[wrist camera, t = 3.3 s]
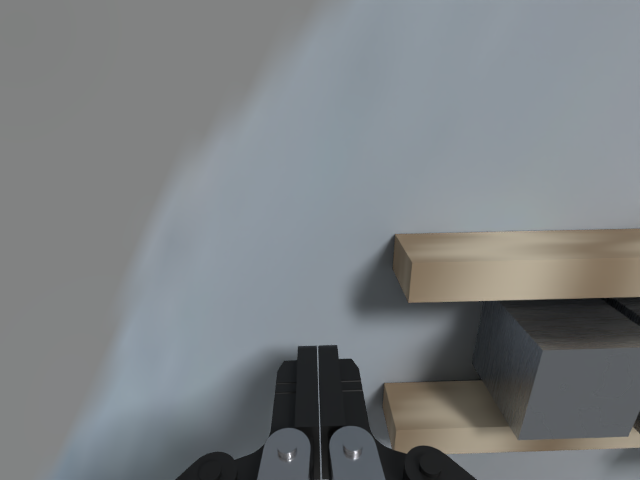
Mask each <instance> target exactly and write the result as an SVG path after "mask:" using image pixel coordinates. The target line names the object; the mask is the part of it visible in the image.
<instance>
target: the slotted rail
mask: <svg viewBox="0 0 640 480" xmlns="http://www.w3.org/2000/svg"><path fill="white" fill-rule="evenodd" d="M393 271H394V273H395V275H396V277H397V279H398V281H399V284H400V286H401V288H402V290H403V292H404V294H405V296H406V298H407V301H408V303H419V302H458V301H497V300H536V299H575V298H614V297H640V229H605V230H560V231H515V232H470V233H425V234H395V243H394V257H393ZM383 411H384V415H385V420H386V424H387V428H388V433H389V437H390V441H391V446H392V450H396V451H399V452H403V453H406V454H407V453H408V452H409V451H410V450H411V449H412V448H414V447H417V446H422V445H424V446H431V447H434V448H436V449H438V450H440V451H442V452H443V453H444V454H465V453H495V452H525V451H555V450H585V449H616V448H640V434H639V433H638V432H637V430H636V429H635V428H634V427H632V429H631V432H630V434H629V436H628V437H605V438H574V439H542V440H517V438H516V436H515V435H514V433H513V431H512V430H511V428H510V426H509V425H508V423H507V421H506V419H505V418H504V416H503V414H502V413H501V411H500V409H499V408H498V406H497V404H496V403H495V401H494V399H493V398H492V396H491V394H490V393H489V391H488V389H487V388H486V386H485V384H484V383H483V381H482V380H474V381H440V382H406V383H384V394H383Z"/></svg>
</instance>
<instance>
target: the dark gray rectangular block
mask: <svg viewBox="0 0 640 480" xmlns="http://www.w3.org/2000/svg"><path fill="white" fill-rule="evenodd" d="M472 364H473V366H474V367H475V369H476V371H477V372H478V374H479V376H480V377H481V379H482V381H483V383H484V384H485V386H486V388H487V389H488V391H489V393H490V394H491V396H492V398H493V399H494V401H495V403H496V404H497V406H498V408H499V409H500V411H501V413H502V414H503V416H504V418H505V419H506V421H507V423H508V425H509V426H510V428H511V430H512V431H513V433H514V435H515V436H516V438H517V440H542V439H574V438H605V437H628V436H629V434H630V432H631V429H632V427H633V425H634V423H635V420H636V418H637V416H638V414H639V411H640V326H638V325H637V324H635V323H634V322H633V321H631V320H630V319H628V318H627V317H626V316H624V315H623V314H621V313H620V312H618V311H617V310H616V309H614V308H613V307H611V306H610V305H609V304H607V303H606V302H604V301H603V300H602V299H600V298H575V299H536V300H497V301H484V302H483V307H482V313H481V318H480V323H479V329H478V334H477V339H476V345H475V350H474V355H473V360H472Z"/></svg>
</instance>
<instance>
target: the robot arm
mask: <svg viewBox="0 0 640 480" xmlns="http://www.w3.org/2000/svg"><path fill="white" fill-rule="evenodd" d="M318 355H319V398H320V427H321V455H322V479H329V480H477V479H475V478H474V477H473V476H472V475H470V474H469V473H468V472H467V471H465V470H464V469H463V468H462V467H460V466H459V465H458V464H457V463H456V462H454V461H453V460H452V459H451V458H449V457H448V456H447V455H446V454H444V453H443V452H442V451H440V450H438V449H436V448H434V447H431V446H424V445H422V446H417V447H414V448H412V449H411V450H410V451H409V452H408V453H407V454H406V453H403V452H399V451H396V450H392V449H389V448H387V447H385V446H383V445H382V444H381V443H379V442H378V441H377V440H376V439H375V438H374V436H373V435H372V433H371V431H370V427H369V422H368V417H367V411H366V406H365V400H364V395H363V390H362V384H361V378H360V373H359V368H358V367H357V365H356V364H355V363H354V361H353V360H352V359H339V358H338V349H337V345H323V346H318ZM176 480H320V443H319V404H318V372H317V346H298V358H297V360H295V361H284V362H283V364H282V365H281V367H280V368H279V370H278V372H277V381H276V389H275V398H274V407H273V416H272V425H271V432H270V435H269V438H268V439H267V441H266V443H265V444H264V445H263V446H262V447H261V448H260V449H259V450H257V451H256V452H254V453H252V454H250V455H248V456H245V457H242V458H239V459H236V460H234V459H233V458H232V457H231V456H230V455H228V454H226V453H223V452H212V453H209V454H206V455H204V456H202V457H201V458H199V459H198V460H197V461H196V462H194V463H193V464H192V465H191V466H190V467H189V468H188V469H187V470H186V471H185V472H183V473H182V474H181V475H180V476H179V477H178V478H177V479H176Z"/></svg>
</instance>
